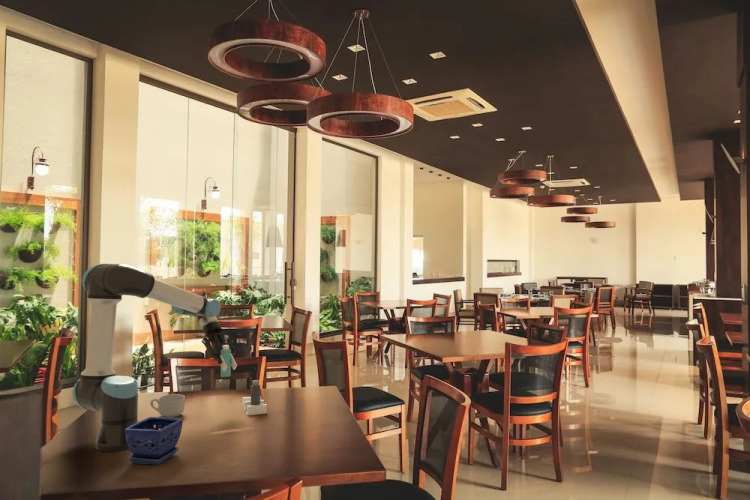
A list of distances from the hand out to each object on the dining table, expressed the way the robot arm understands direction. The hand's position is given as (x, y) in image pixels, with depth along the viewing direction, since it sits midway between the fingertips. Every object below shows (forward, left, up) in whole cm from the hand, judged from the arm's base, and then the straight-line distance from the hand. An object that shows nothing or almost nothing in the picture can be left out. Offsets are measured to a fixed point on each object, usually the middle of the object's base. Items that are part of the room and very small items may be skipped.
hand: (230, 368), depth 220 cm
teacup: (+10, +25, -20) cm, 34 cm away
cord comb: (+3, -10, -20) cm, 23 cm away
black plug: (-1, -10, -19) cm, 22 cm away
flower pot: (-41, +29, -20) cm, 54 cm away
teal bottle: (+3, +2, -4) cm, 5 cm away
